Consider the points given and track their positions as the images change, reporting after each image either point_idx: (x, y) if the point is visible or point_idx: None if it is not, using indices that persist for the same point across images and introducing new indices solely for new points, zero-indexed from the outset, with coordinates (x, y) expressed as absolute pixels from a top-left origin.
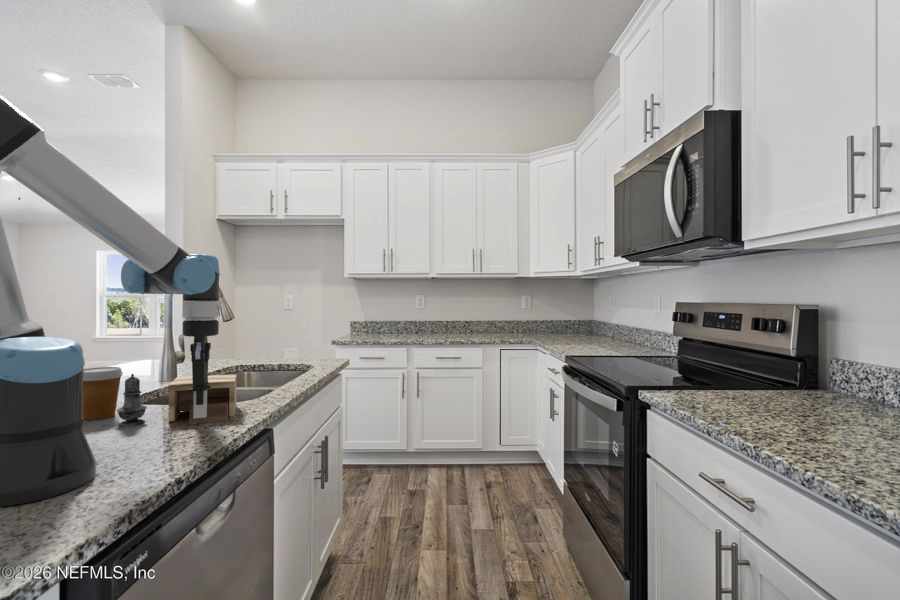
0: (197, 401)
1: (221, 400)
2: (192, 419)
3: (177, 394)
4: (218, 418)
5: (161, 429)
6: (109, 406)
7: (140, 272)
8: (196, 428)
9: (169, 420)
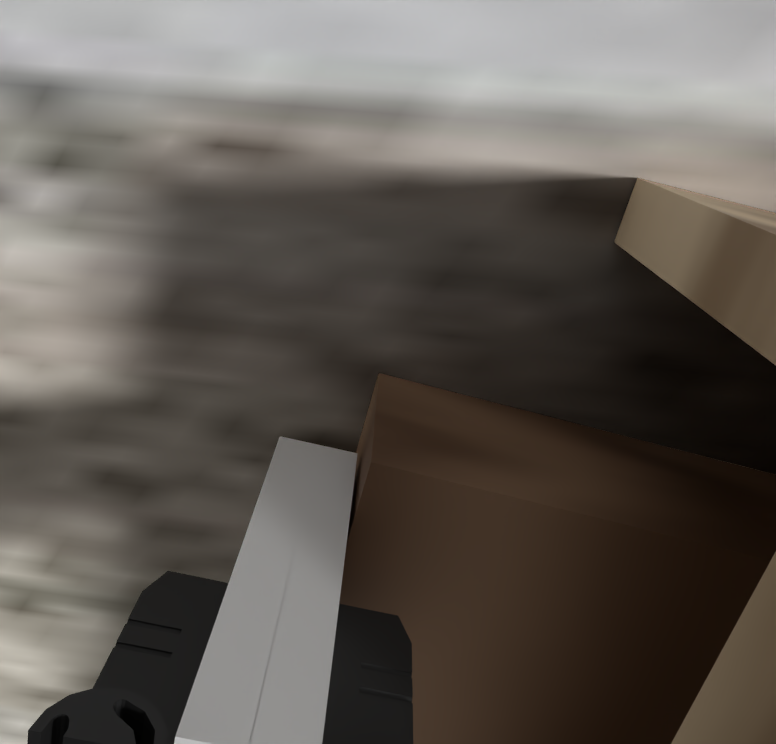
0: (129, 625)
1: None
2: (369, 423)
3: None
4: None
5: (306, 67)
6: None
7: None
8: (141, 409)
9: (639, 191)
